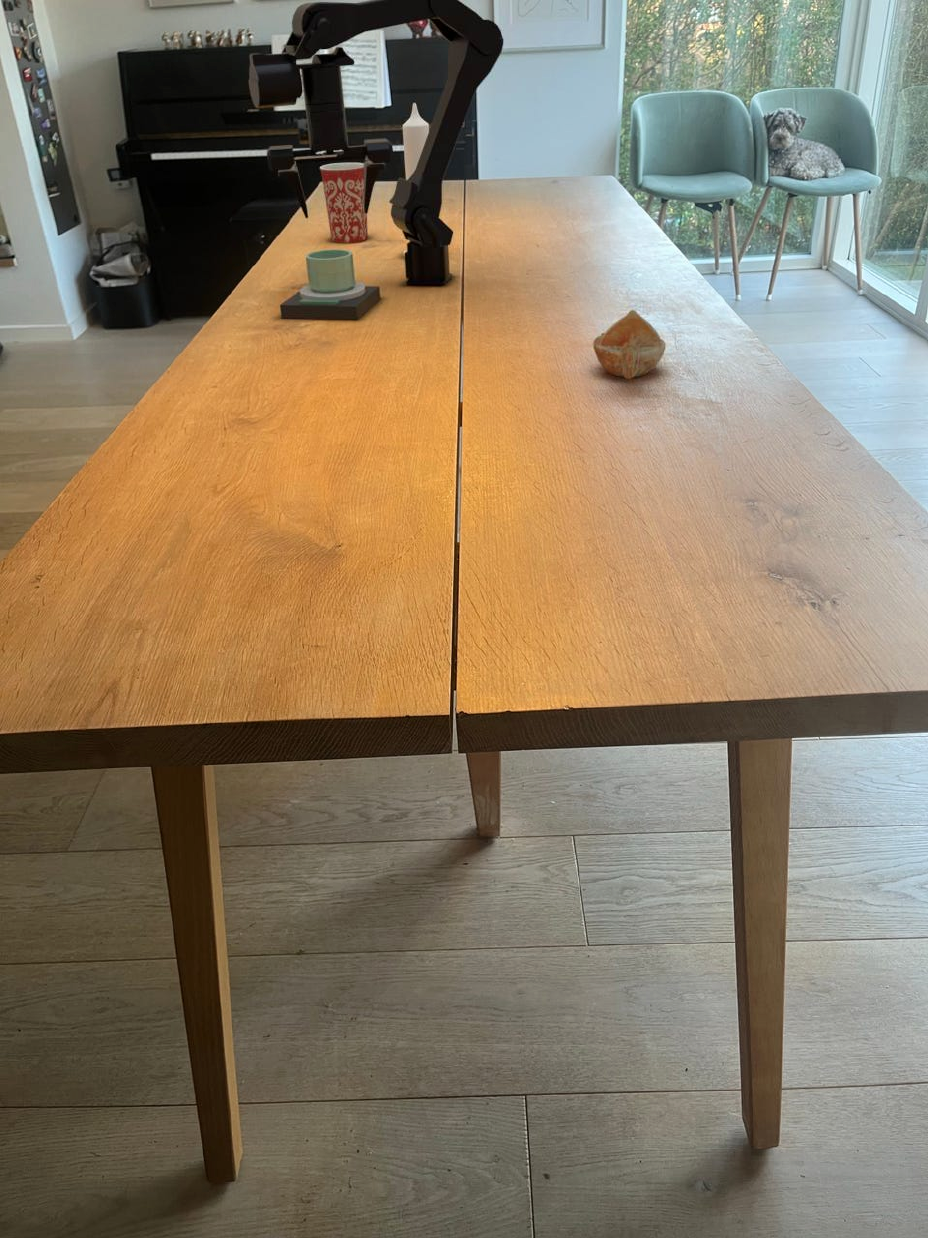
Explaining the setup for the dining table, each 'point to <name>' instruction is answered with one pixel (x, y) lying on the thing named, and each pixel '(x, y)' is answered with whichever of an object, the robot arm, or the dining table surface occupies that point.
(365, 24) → the robot arm
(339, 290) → the bowl
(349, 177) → the mug
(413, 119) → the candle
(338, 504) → the dining table surface
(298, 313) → the scale
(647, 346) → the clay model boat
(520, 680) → the dining table surface
